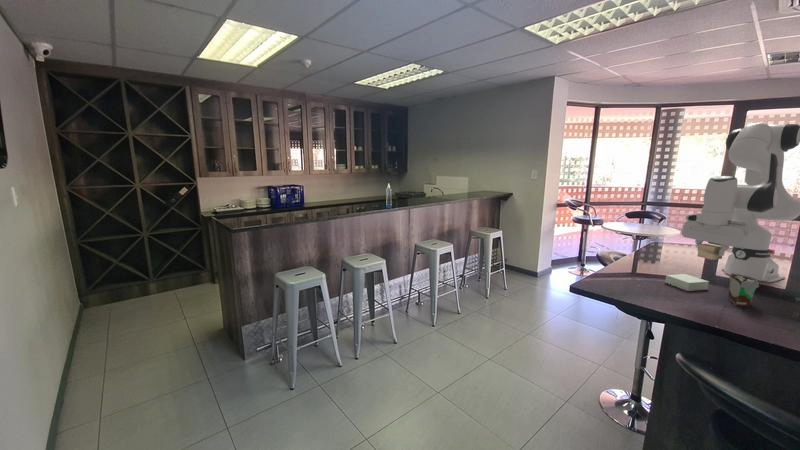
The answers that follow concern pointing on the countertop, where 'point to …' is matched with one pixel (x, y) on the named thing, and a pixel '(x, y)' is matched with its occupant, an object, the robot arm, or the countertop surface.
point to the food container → (742, 289)
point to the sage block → (687, 282)
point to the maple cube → (709, 251)
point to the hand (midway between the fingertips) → (710, 253)
